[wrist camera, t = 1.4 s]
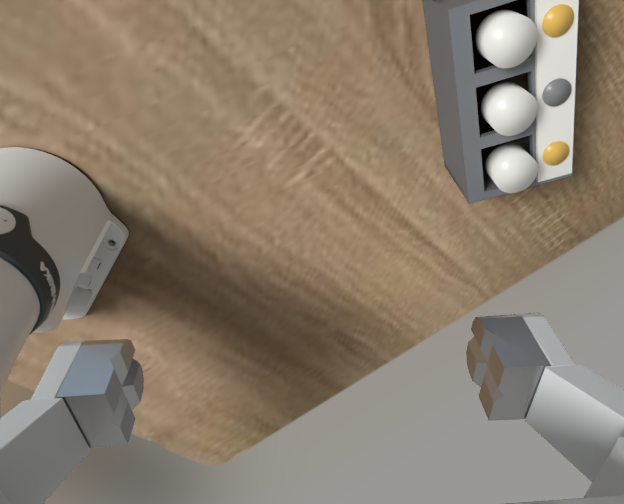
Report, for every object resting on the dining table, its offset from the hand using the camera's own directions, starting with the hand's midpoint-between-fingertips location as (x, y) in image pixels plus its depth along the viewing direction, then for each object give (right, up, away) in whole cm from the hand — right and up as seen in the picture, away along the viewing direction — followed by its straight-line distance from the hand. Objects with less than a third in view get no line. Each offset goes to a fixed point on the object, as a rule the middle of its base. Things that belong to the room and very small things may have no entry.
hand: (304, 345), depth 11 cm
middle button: (+16, +14, +28) cm, 35 cm away
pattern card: (+20, +15, +27) cm, 37 cm away
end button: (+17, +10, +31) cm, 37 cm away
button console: (+17, +19, +34) cm, 42 cm away
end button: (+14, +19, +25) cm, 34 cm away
